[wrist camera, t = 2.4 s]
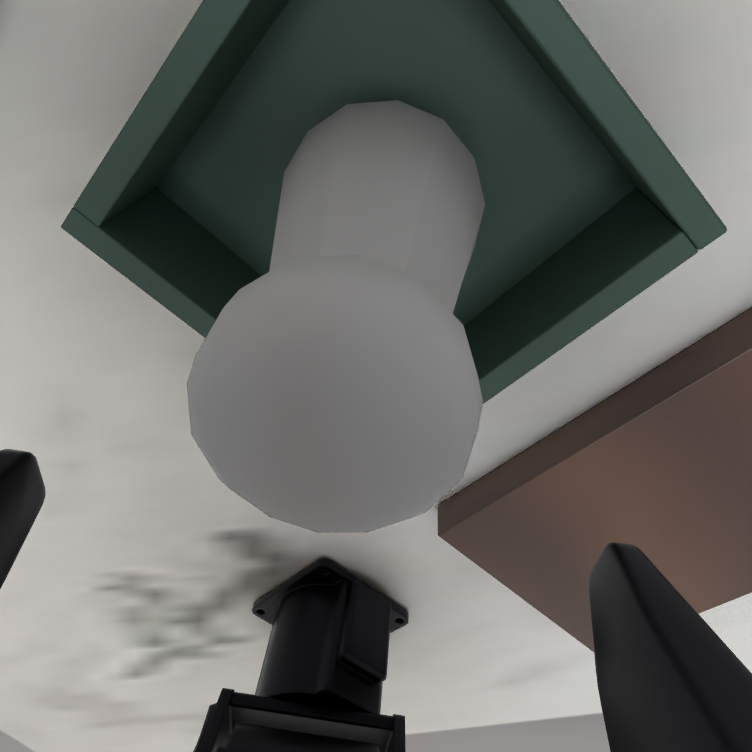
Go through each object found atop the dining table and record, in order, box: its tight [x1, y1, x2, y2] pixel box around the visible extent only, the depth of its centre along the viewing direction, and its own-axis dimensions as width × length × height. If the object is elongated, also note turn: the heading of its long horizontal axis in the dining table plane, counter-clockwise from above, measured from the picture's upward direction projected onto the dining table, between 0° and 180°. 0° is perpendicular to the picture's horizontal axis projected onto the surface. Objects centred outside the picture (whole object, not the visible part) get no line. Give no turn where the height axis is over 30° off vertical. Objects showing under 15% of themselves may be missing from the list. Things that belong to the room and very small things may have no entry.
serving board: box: [438, 308, 752, 652], centre depth 23 cm, size 20×12×2 cm, turn 136°
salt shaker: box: [187, 100, 485, 532], centre depth 13 cm, size 6×6×13 cm
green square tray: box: [61, 0, 727, 404], centre depth 17 cm, size 13×13×4 cm
